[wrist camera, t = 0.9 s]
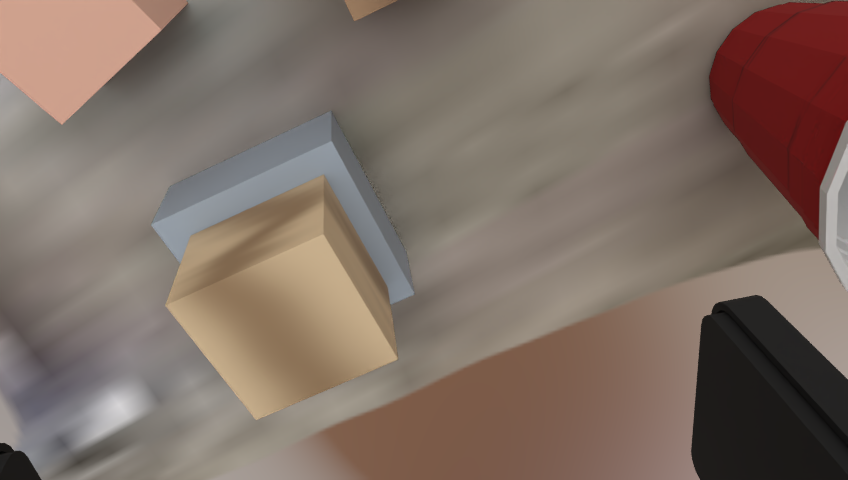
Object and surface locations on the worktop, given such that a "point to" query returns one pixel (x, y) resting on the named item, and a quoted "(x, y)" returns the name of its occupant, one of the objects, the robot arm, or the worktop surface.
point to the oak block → (285, 299)
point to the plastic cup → (794, 110)
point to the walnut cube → (365, 7)
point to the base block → (277, 173)
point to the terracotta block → (74, 45)
